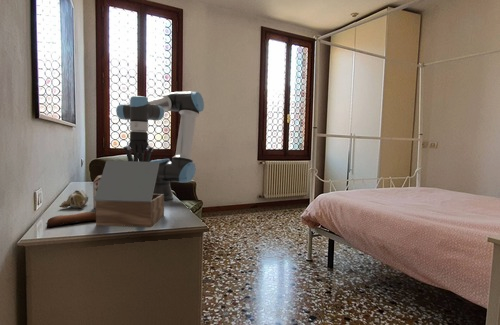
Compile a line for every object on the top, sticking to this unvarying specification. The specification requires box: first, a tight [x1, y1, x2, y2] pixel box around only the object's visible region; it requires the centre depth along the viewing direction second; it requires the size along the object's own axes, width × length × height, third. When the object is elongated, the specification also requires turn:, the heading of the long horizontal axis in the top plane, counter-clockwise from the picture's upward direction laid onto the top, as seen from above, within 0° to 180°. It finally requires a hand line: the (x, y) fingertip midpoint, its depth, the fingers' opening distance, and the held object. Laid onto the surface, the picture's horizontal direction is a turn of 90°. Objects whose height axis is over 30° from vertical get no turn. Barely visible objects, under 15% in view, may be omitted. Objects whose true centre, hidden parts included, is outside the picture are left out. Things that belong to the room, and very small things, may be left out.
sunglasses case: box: [45, 211, 96, 229], centre depth 124 cm, size 18×7×7 cm
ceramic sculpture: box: [59, 190, 89, 209], centre depth 150 cm, size 11×9×15 cm
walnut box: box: [95, 194, 165, 228], centre depth 129 cm, size 18×22×10 cm
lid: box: [94, 160, 159, 202], centre depth 124 cm, size 18×22×1 cm
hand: (138, 183), depth 136 cm, fingers closed
